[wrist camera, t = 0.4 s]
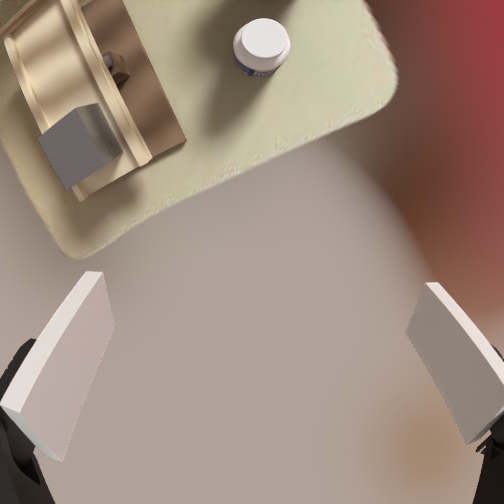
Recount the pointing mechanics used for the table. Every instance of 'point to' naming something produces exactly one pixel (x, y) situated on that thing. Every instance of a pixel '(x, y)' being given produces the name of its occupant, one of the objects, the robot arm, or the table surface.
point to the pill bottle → (260, 47)
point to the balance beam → (70, 80)
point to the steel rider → (80, 144)
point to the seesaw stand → (133, 74)
